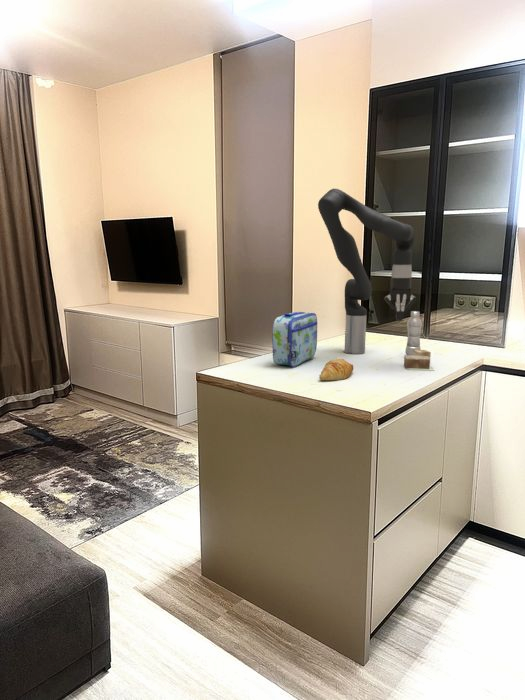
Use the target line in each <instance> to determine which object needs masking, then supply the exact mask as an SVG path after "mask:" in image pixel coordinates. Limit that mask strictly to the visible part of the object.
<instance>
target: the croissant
mask: <svg viewBox="0 0 525 700" xmlns="http://www.w3.org/2000/svg"><path fill="white" fill-rule="evenodd" d="M353 371H354V364H351V363H350V362H348V361H347V360H345V359H343V358H335V359H331V360H329V361H327V362H326V363H325V365H324V367H323V369H322V370H321V371H320V373H319V377H318V378H319V380H320V381H340V380H345V379H347V378H349V377H350V376H351V374H352V373H353Z"/></svg>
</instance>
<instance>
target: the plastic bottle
mask: <svg viewBox="0 0 525 700" xmlns="http://www.w3.org/2000/svg"><path fill="white" fill-rule="evenodd" d="M420 313H421V312H420V311H419V310H412V311H410V318H409V319H408V321H407V322H406V323H407V324H406V328H407V341H406V347H405V355H410V356H414V350H422V349H421V332H422V328H423V322H422V320H421V318H420V316H421V315H420Z"/></svg>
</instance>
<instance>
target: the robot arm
mask: <svg viewBox="0 0 525 700" xmlns="http://www.w3.org/2000/svg"><path fill="white" fill-rule="evenodd" d="M317 206H318V207H317V209H318V212H319V214H320V217H321V218H322V221H323V223H324V225H325V227H326V229H327V232H328V235H329V238H330V239H331V242H332V245H333V249H334V251H335V254H336V257H337V260H338V261H339V262H340V265H342V266H343V267H344V268H345V269H346V270H347V271H348V272H349V274H351V275H352V278H350V279H348V280H347V281H346V282H345V285H344V310H345V327H344V329H345V331H344V350H343V351H344V354H351V353H352V355H354V354H355V355H358V354H364V353H366V336H367V333H366V332H367V313H368V309H367V308H366V307H364V306H362V305H361V304H360V302H359V301H367V300H369V299H370V298H371V296H372V293H373V289H372V284H371V281H370V279H369V276H368V275H367V272H366V270H365V268H364V267H365V266H364V265H363V262H362V259H361V256H360V253H359V248H358V246H357V241H356V239H355V238H354V236H353V235H352V234H351V233H350V232H349V231H348V230H346V229H345V228H344V226H343V224H342V222H341V219H340V212H341V211H343V210H344V211H347V212H349V213H352V214H353V215H354V216H355V217H356V218H357V219H358V220H359V221H360V222H361V224H362V225H363V226H364V227H366V228H368V229H369V230H372V231H374V232H376V233H378V234H382V235H384V236H386V237H388V238H389V239H391V240H393V241H394V242H395V249H394V250H393V253H392V254H393V255H392V268H391V281H390V282H391V283H390V284H391V285H390V291H389V294H388V295H386V296H384V298H383V299H384V300H385V302H386V303H387V304H388V306H389V307H390V309H391V310H394V311H395V320H397V321H398V322H402V321H403V320H404V317H405V312H406V311H408V310H410V308H411V307H412V306H413V305H414V304H415V302H416V301H417V300H418V298H417V297H416V296H415V295H413V292H412V277H413V275H412V274H413V273H412V271H413V269H412V264H413V263H412V261H413V249H414V248H413V247H414V243H415V242H414V241H415V230H414V227H413V226H412V225H410V224H408V223H404V222H401V221H398V220H396V219H393V218H391V217H389V216H388V215H386V214H384V213H381V212H379V211H377V210H374V209H373V208H371V207H369V206H366V205H365V204H363V203H362V202H360V201H359V200H357V199H356V198H354V197H353V196H351V195H350V194H348V193H346V192H345V191H343V190H341V189H339V188H331V189H330V190H328V191H327V192H326V193H325V194H324V195H323V196H322V197H321V198H320V199H319V201H318V203H317ZM409 299H410V300H409ZM408 300H409V302H408ZM392 301H394V303H395V306H394V304H393V303H392ZM407 302H408V303H407ZM406 303H407V304H406Z"/></svg>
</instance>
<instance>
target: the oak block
mask: <svg viewBox="0 0 525 700" xmlns="http://www.w3.org/2000/svg"><path fill="white" fill-rule="evenodd" d="M431 353H432V352H431V351H429V350H427V349H421V350H414V356H428V357H429V358H430V359H431V356H432V355H431Z"/></svg>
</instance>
